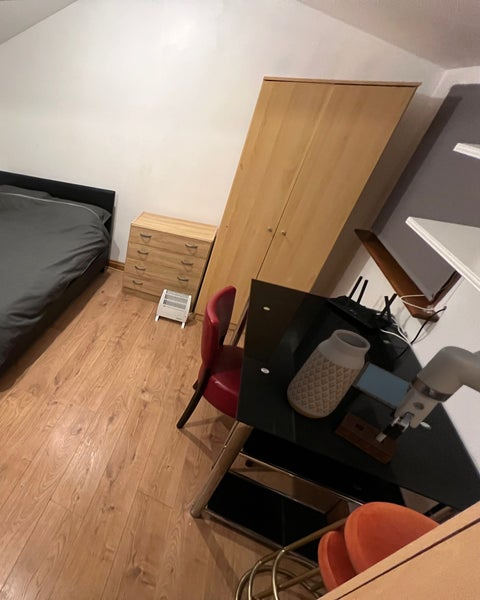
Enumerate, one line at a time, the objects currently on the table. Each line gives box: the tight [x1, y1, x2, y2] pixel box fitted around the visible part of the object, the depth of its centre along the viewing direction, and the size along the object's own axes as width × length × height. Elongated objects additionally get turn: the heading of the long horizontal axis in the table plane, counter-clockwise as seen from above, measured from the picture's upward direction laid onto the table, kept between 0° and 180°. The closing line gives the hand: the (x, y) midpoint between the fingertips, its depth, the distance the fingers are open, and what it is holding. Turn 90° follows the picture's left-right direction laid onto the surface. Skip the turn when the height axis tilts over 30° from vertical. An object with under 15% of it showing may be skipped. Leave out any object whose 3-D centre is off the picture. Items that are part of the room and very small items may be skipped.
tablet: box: [351, 361, 412, 411], centre depth 123 cm, size 22×15×1 cm
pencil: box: [375, 418, 400, 442], centre depth 97 cm, size 1×1×13 cm
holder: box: [334, 411, 400, 465], centre depth 101 cm, size 13×8×4 cm, turn 40°
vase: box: [286, 329, 371, 419], centre depth 103 cm, size 14×14×31 cm
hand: (392, 427), depth 95 cm, fingers open, 9 cm apart
